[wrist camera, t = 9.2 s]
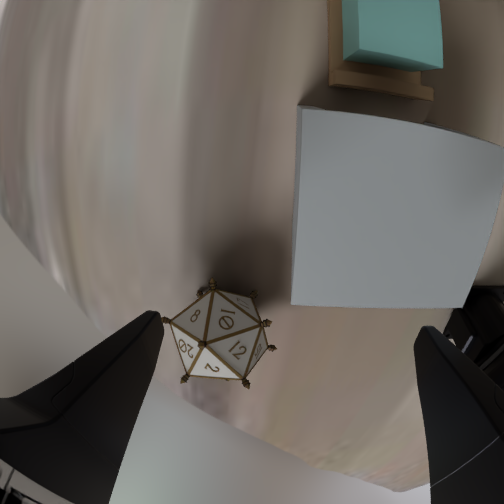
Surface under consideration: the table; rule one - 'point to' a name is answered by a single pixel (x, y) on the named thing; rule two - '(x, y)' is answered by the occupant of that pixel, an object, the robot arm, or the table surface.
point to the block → (393, 33)
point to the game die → (220, 335)
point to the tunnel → (389, 211)
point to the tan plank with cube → (367, 67)
